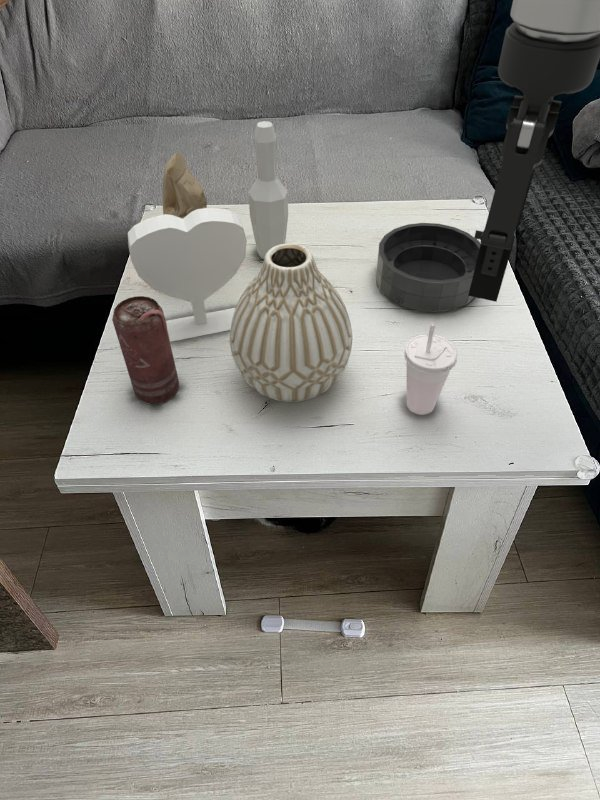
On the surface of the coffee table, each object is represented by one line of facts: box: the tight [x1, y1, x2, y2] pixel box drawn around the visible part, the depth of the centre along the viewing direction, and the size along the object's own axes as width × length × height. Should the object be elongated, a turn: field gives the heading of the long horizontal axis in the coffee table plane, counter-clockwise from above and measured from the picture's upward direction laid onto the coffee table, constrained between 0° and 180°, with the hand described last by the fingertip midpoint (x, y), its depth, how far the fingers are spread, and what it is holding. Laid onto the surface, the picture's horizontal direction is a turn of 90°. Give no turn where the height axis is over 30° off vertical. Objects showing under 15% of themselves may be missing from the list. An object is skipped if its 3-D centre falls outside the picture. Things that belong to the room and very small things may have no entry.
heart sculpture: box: [127, 207, 248, 343], centre depth 85 cm, size 16×5×18 cm, turn 107°
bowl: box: [375, 222, 481, 313], centre depth 96 cm, size 17×17×6 cm
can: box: [111, 295, 180, 406], centre depth 77 cm, size 6×6×14 cm
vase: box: [229, 242, 353, 403], centre depth 76 cm, size 16×16×20 cm
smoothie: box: [403, 322, 458, 416], centre depth 75 cm, size 6×6×14 cm
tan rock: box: [162, 152, 208, 219], centre depth 93 cm, size 13×7×20 cm, turn 171°
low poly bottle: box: [247, 120, 289, 260], centre depth 97 cm, size 6×6×22 cm
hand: (494, 259), depth 62 cm, fingers open, 13 cm apart
